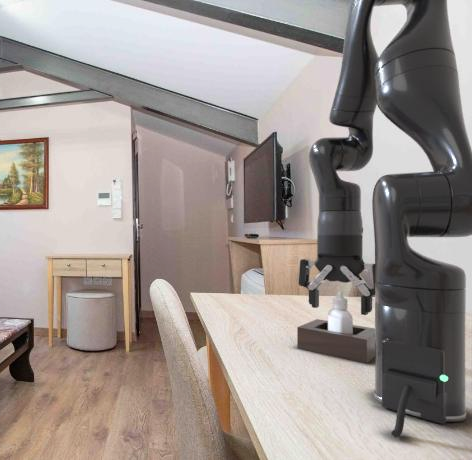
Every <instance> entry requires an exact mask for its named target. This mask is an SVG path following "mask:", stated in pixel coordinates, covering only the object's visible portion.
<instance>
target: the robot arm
mask: <svg viewBox="0 0 472 460" xmlns="http://www.w3.org/2000/svg"><path fill="white" fill-rule="evenodd" d="M398 5H401V6H403V7H404V8H405V10H406V19H405V20H406V21H405V22H404V23H403V25H402V26H401V27H400V29H399V31H398V32H397V33H396V34H395V36H394V37H393V38H392V39H391V41H390V42H389V43H388V44H387V46H386V47H385V48H384V49H383V50H382V52H381V54H380V55H379V54H378V52H377V50H376V47H375V44H374V40H373V36H372V29H371V28H372V27H371V25H372V24H371V23H372V17H373V16H372V15H373V12H374V11H373V10H374V7H382V6H383V7H384V6H398ZM344 31H345V32H344V40H343V48H342V49H343V50H342V58H341V66H340V71H339V73H340V74H339V77H338V81H337V82H338V83H337V86H336V90H335V93H334V97H333V100H332V105H331V108H330V113H329V116H328V119H329V122H330V123H331V124H332V125H334V126H336V127H341V128H347V130H348V136H338V137H322V138H319V139H317V140H316V141H314V142H313V144H312V145H311V147H310V148H309V153H308V163H309V167H310V169H311V172H312V175H313V178H314V181H315V184H316V188H317V192H318V217H317V223H316V224H317V225H316V226H317V227H316V228H317V229H316V231H317V233H316V234H317V235H316V236H317V237H316V238H317V239H316V241H317V243H316V244H317V245H316V246H317V247H316V248H317V249H316V250H317V251H316V252H317V253H316V254H317V255H316V259H315V260H314V259H313V260H312V259H309V258H303V259H300V261H299V271H298V285H299V286H300V287H303V288H305V289H307V290H308V304H309V305H311V308H313V309H317V308H319V307H320V290H319V288H320V286H321V285H323V284H324V283H325V282H326V281H328V282H339V283H345V284H347V283H351V284H352V285H353V286H354V287H355V288H356V289H358V291H359V292H360V293H361V294H362V295H361V296H360V315H362V316H367V315H369V313H371V312H372V311H373V296H374V297H375V299H374V301H375V302H374V328H375V357H374V391H373V397H374V399H375V400H376V401H378V402H379V403H380V404H381V407H382V408H384V409H388V410H391V411H395V412H396V416H395V417H396V418H395V425H394V429H393V430H391V436H393V437H394V438H399V437H400V436H401V435H402V433H403V431H404V426H405V419H406V418H405V417H406V415H410V416H413V417H417V418H421V419H423V420H426V421H431V422H434V423H438V424H442V425H444V424H445V423H447V422H449V423H451V422H452V423H453V422H454V423H455V422H462V421H466V419H467V409H466V310H467V309H466V307H467V305H466V304H467V303H466V301H467V300H466V298H467V295H466V287H467V277H466V272H465V270H464V269H463V268H462V267H460V266H458V265H456V264H453V263H452V264H451V263H448V262H444V261H441V260H437V259H434V258H431V257H428V256H426V255H423V254H422V253H420V252H418V251H416V250H415V249H414V248H412V247H411V245H410V243H409V240H408V239H409V238H465V237H466V238H467V237H470V236H472V146H471V143H470V139H469V135H468V132H467V128H466V125H465V118H464V113H463V104H462V98H461V90H460V88H461V87H460V78H459V70H458V65H457V59H456V53H455V49H454V45H453V40H452V35H451V28H450V20H449V10H448V0H349V1H348V8H347V17H346V24H345V30H344ZM377 108H378V109H379V111H380V112H381V113H382V115H384V117H385V118H386V119H387V120H388V121H390V123H391V124H393V125H394V126H395V127H396V128H397V129H399V130H400V131H402V132H403V133H404V134H406V135H407V136H408V137H409V138H411V140H413V141H414V142H415V143H416V144H417V145H418V146H419V147H420V149H421V150H422V151H423V152H424V154H425V155H426V157H427V159H428V161H429V163H430V165H431V168H432V171H417V172H399V173H388V174H385V175H384V174H383V175H382V176H381V177H379V178H378V180H377V181H376V182H375V184H374V188H373V191H372V201H371V203H372V205H371V206H372V222H373V223H372V224H373V236H374V237H373V238H374V263H365V261H364V259H363V234H364V227H363V216H362V211H361V210H362V190H361V186H360V185H359V184H358V183H355V182H351V181H347V180H343V179H341V178H340V176H339V174H338V172H356V171H360V170H362V169H364V168H365V167H367V165H368V164H369V163H370V162H371V159H372V157H373V154H374V134H373V133H374V115H375V112H376V110H377ZM314 267H315V268H316V269H317V270H318V271H319V273H318V274H317V275H316V276H315V278H313V280H312V281H310V273H311V270H313V268H314ZM364 270H367V271H368V273H369V274H370V275H372V282H373V287H372V288H371V287H370V286H369V285H368V283H367V282H366V280H365V279H364V278H363V277H362V276H361V274H362V272H364Z"/></svg>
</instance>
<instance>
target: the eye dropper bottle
mask: <svg viewBox="0 0 472 460" xmlns="http://www.w3.org/2000/svg"><path fill="white" fill-rule="evenodd" d="M327 321H328V330H329V331H335V332H341V333H346V334H352V335H353V325H354V323H353V321H354V319H353V315H352V313H351V312H349V310H348V299H347V298H345V297H344V294H343V292H342V291H338V292H337V293H336V297H333V298H332V308H331V309H329V310H328V312H327Z"/></svg>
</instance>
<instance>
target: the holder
mask: <svg viewBox="0 0 472 460" xmlns="http://www.w3.org/2000/svg"><path fill="white" fill-rule="evenodd" d="M296 332H297V333H296V335H297V336H296V339H297V340H296V341H297V342H296V343H297V344H296V345H297V346H296V347H297V349H299V350H304V351H309V352H313V353H316V354H322V355H326V356H331V357H335V358H341V359H345V360H348V361H349V360H350V361H353V362H358V363H363V364H368V363H369V362H371V361H372V360H373V359H375V327H369V326H363V325H356V324H353V335H352V334H346V333H341V332H335V331H329V330H328V320H324V319H319V318H316V319H313V320H311V321H309V322H307V323H304V324H302V325H299V326H297V331H296Z"/></svg>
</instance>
